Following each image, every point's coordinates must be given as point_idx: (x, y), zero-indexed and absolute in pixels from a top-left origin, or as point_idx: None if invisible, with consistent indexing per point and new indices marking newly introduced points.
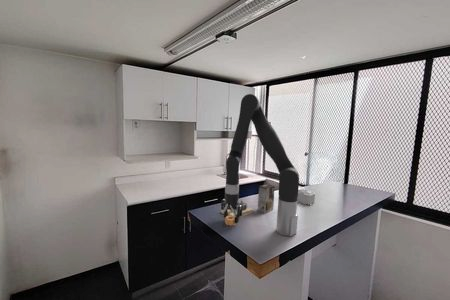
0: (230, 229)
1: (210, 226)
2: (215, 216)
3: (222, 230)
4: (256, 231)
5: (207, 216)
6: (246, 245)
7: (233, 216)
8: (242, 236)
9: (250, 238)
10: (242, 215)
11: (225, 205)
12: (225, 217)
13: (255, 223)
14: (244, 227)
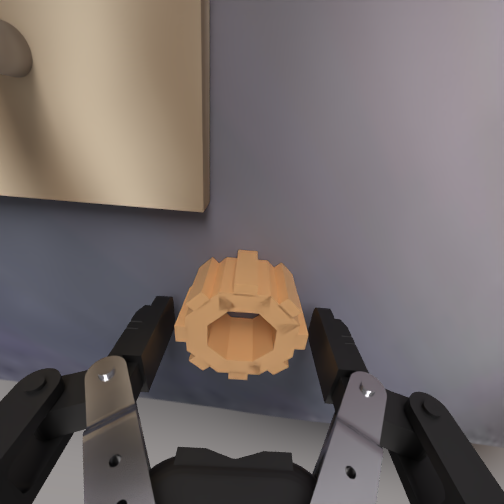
0: (311, 361)
1: (184, 402)
2: (40, 292)
3: (277, 394)
4: None
5: (13, 333)
6: (482, 414)
7: (237, 298)
8: (430, 374)
9: (492, 363)
10: (206, 9)
11: (8, 458)
12: (195, 363)
13: (494, 101)
14: (395, 278)
